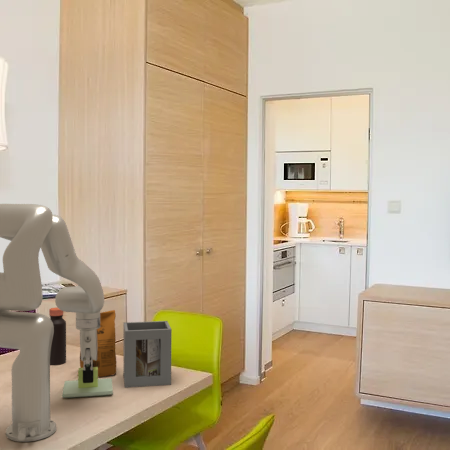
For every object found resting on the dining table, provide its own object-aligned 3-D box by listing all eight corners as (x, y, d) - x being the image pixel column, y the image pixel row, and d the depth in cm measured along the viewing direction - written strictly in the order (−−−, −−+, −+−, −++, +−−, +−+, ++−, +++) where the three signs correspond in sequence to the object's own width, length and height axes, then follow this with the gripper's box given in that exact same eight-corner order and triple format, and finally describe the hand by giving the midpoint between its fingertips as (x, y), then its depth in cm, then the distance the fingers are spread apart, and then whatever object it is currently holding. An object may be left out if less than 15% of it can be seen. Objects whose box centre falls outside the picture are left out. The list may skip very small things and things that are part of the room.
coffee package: (80, 369, 199) (79, 308, 198) (115, 367, 202) (115, 307, 201) (79, 379, 189) (79, 314, 188) (117, 376, 192) (117, 313, 191)
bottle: (47, 360, 209) (46, 307, 208) (65, 359, 211) (65, 306, 210) (46, 365, 203) (46, 311, 202) (66, 364, 205) (66, 310, 204)
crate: (171, 384, 185) (171, 329, 184) (124, 387, 182) (125, 331, 181) (166, 372, 197) (167, 320, 196) (123, 375, 194) (123, 322, 192)
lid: (112, 397, 174) (112, 373, 174) (62, 400, 171) (62, 376, 171) (111, 384, 186) (111, 361, 185) (64, 387, 183) (64, 364, 182)
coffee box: (162, 380, 188) (163, 333, 187) (147, 385, 184) (147, 337, 183) (146, 374, 195) (146, 328, 194) (130, 378, 190) (131, 331, 189)
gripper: (100, 329, 170) (100, 387, 171) (100, 316, 186) (100, 370, 187) (74, 330, 168) (74, 389, 169) (76, 317, 185) (77, 371, 186)
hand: (88, 378), depth 178 cm, fingers open, 5 cm apart
